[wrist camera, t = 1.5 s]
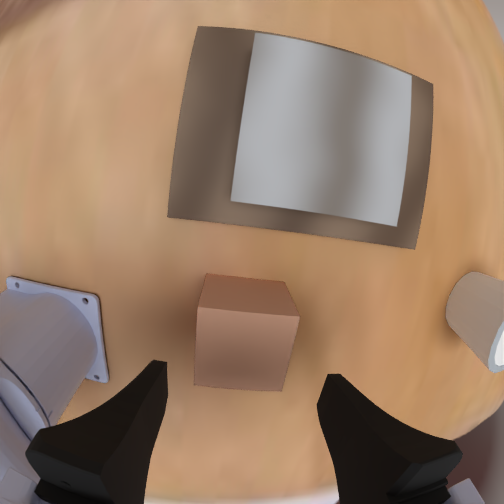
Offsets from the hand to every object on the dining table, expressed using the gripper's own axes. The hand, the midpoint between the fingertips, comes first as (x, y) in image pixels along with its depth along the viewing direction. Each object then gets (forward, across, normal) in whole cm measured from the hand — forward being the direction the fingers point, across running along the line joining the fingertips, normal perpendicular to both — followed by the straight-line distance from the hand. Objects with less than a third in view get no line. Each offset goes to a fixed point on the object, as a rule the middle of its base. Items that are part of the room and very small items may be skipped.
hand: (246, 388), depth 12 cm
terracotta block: (+8, 0, 0) cm, 8 cm away
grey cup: (+8, -20, -2) cm, 22 cm away
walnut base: (+8, -3, -12) cm, 14 cm away
